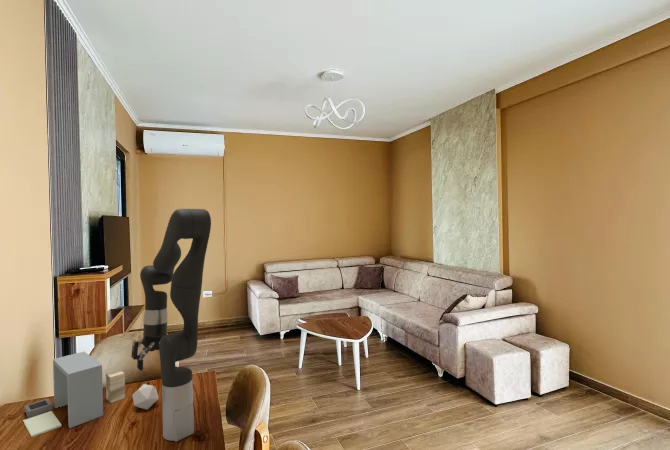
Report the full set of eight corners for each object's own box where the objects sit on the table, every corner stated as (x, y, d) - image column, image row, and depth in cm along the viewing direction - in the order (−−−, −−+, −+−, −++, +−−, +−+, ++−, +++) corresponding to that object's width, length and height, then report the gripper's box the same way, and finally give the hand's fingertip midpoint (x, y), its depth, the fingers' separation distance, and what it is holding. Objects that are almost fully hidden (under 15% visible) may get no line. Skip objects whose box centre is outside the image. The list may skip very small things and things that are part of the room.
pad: (61, 426, 123) (61, 424, 123) (31, 437, 117) (31, 435, 117) (51, 412, 132) (51, 410, 132) (23, 421, 126) (23, 420, 126)
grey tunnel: (103, 415, 129) (101, 364, 129) (69, 428, 122) (68, 374, 122) (85, 397, 143) (84, 351, 143) (54, 407, 135) (52, 359, 135)
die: (163, 405, 137) (160, 380, 142) (151, 404, 130) (148, 378, 134) (142, 414, 136) (140, 389, 141) (129, 414, 129) (126, 387, 133)
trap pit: (52, 410, 133) (52, 404, 133) (28, 419, 128) (27, 412, 128) (48, 404, 138) (47, 398, 138) (24, 412, 132) (24, 405, 132)
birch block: (125, 398, 142) (124, 373, 142) (110, 403, 138) (110, 377, 138) (120, 394, 146) (119, 369, 145) (106, 398, 142) (105, 373, 142)
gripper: (136, 326, 119) (134, 375, 119) (180, 320, 129) (178, 365, 129) (130, 322, 125) (128, 369, 125) (172, 316, 135) (171, 359, 134)
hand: (154, 367), depth 127 cm, fingers open, 8 cm apart
